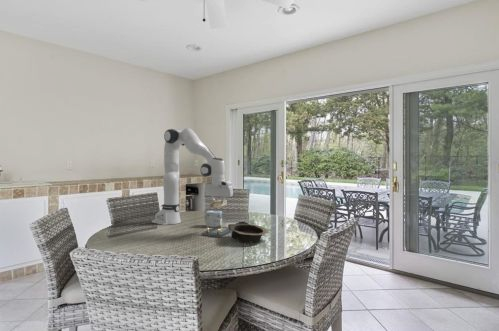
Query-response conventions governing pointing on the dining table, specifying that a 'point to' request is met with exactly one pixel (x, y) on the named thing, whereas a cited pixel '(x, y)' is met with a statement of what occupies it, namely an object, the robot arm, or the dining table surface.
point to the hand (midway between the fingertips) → (218, 203)
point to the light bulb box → (213, 218)
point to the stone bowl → (247, 232)
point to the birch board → (218, 203)
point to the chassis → (217, 231)
